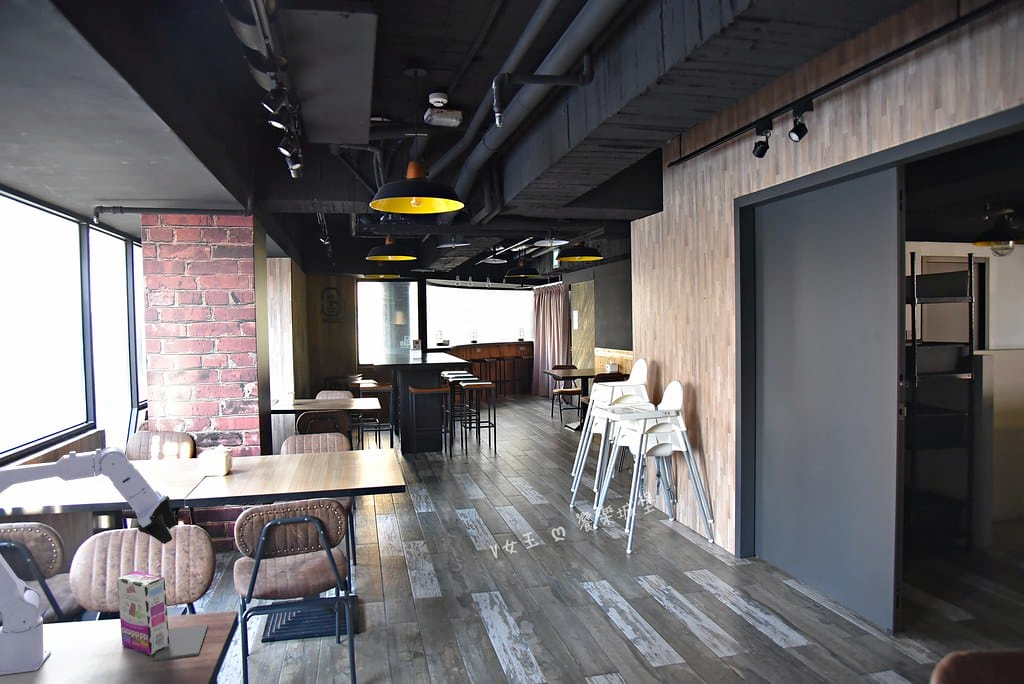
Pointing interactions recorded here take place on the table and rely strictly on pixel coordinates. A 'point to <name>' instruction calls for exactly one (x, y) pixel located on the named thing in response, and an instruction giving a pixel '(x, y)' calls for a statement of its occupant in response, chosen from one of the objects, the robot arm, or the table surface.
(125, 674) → the table surface
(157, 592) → the candy bar box
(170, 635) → the mat
